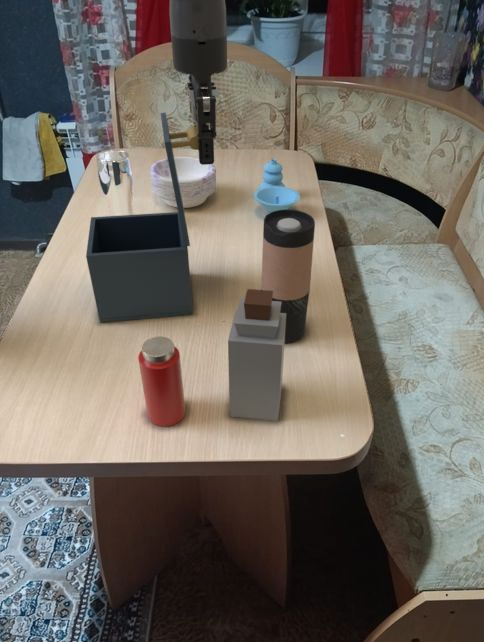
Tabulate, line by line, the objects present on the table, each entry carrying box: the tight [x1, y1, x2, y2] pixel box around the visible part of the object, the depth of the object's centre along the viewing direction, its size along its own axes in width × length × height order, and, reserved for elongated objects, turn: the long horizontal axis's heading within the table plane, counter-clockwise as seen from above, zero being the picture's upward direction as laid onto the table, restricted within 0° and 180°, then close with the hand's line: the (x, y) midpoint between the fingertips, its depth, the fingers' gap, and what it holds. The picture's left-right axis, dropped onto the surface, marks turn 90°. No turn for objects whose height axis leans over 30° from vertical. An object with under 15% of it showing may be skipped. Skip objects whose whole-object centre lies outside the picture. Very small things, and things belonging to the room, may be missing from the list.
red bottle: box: [137, 336, 186, 428], centre depth 72 cm, size 5×5×12 cm
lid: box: [160, 112, 199, 247], centre depth 86 cm, size 16×14×5 cm
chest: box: [85, 211, 193, 324], centre depth 94 cm, size 16×14×13 cm
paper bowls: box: [149, 156, 217, 209], centre depth 127 cm, size 15×15×8 cm
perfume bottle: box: [227, 288, 286, 422], centre depth 72 cm, size 7×7×18 cm
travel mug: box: [260, 209, 316, 344], centre depth 85 cm, size 8×8×20 cm
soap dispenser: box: [253, 158, 301, 214], centre depth 125 cm, size 18×10×9 cm, turn 5°
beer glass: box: [96, 149, 136, 216], centre depth 115 cm, size 7×7×15 cm
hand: (204, 155), depth 84 cm, fingers open, 5 cm apart
